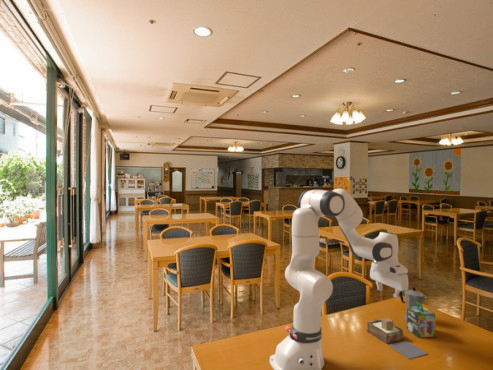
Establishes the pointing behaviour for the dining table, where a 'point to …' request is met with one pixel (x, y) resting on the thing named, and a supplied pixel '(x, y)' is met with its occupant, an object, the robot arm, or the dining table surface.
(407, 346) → the mat
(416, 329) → the chalk box
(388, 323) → the cover plate
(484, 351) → the dining table surface
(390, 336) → the open wooden box
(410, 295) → the coffeepot
